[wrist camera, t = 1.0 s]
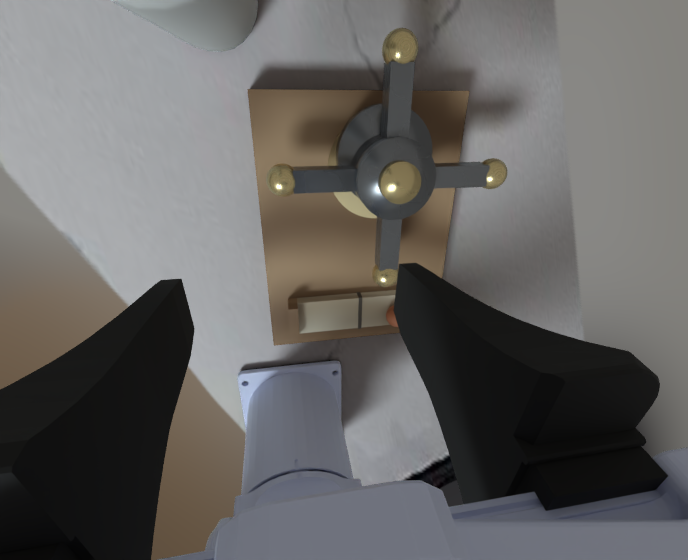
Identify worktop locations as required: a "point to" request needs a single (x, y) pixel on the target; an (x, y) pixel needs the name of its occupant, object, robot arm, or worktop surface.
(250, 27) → the beverage can
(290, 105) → the valve wheel board
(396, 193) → the capstan
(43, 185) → the worktop surface
